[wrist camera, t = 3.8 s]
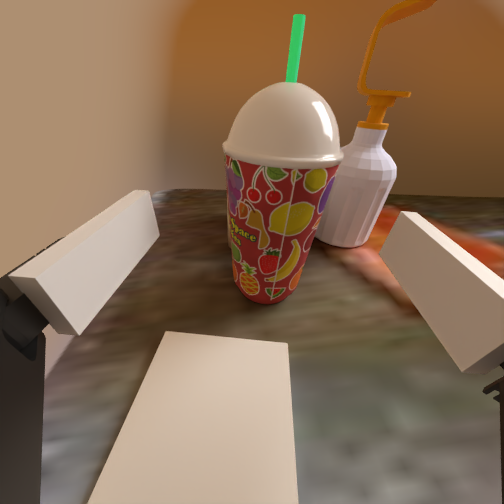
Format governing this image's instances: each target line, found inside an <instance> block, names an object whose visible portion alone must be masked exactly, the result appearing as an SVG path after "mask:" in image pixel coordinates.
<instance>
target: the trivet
mask: <svg viewBox="0 0 504 504" xmlns="http://www.w3.org/2000/svg"><path fill="white" fill-rule="evenodd" d="M87 504H298V491H297V476H296V461H295V446H294V431H293V416H292V401H291V386H290V372H289V357H288V343H279V342H269V341H259V340H249V339H240V338H230V337H220V336H210V335H200V334H190V333H180V332H171V331H166V332H165V334H164V336H163V338H162V341H161V343H160V345H159V347H158V349H157V352H156V354H155V356H154V358H153V360H152V363H151V365H150V367H149V369H148V371H147V374H146V376H145V378H144V380H143V382H142V385H141V387H140V389H139V391H138V393H137V396H136V398H135V400H134V402H133V404H132V407H131V409H130V411H129V413H128V415H127V418H126V420H125V422H124V424H123V426H122V429H121V431H120V433H119V435H118V437H117V440H116V442H115V444H114V446H113V448H112V451H111V453H110V455H109V457H108V459H107V462H106V464H105V466H104V468H103V470H102V473H101V475H100V477H99V479H98V481H97V484H96V486H95V488H94V490H93V492H92V495H91V497H90V499H89V501H88V503H87Z"/></svg>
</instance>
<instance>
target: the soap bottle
mask: <svg viewBox="0 0 504 504" xmlns="http://www.w3.org/2000/svg"><path fill="white" fill-rule="evenodd" d="M436 1H437V0H406V1H403V2H401V3H399V4H396V5H394V6H393V7H392V8H390V9H389V10H387V11H386V12H385V13H384V14H383V15H382V17H381V18H380V20H379V21H378V23H377V25H376V27H375V29H374V30H373V33H372V35H371V37H370V40H369V43H368V47H367V51H366V54H365V58H364V62H363V65H362V69H361V73H360V76H359V79H358V85H357V90H358V91H359V93H360V94H362V95H367V96H368V95H369V98H368V101H367V104H366V105H371V108H370V111H369V114H368V118H367V120H366V122H364V121H359V122H358V125H357V128H356V131H355V134H354V138H353V141H352V142H351V143H350V144H348V145H347V146H345V147H342V148H340V150H341V151H342V152H343V153H344V157H343V159H342V162H341V164H339V167H338V170H337V174H336V177H335V180H334V182H333V185H332V188H331V191H330V194H329V196H328V199H327V202H326V205H325V208H324V211H323V213H322V216H321V219H320V222H319V225H318V227H317V230H316V233H315V236H314V237H316V238H317V239H319V240H320V241H323V242H325V243H328V244H330V245H334V246H339V247H357V246H361V245H362V244H363V243H365V242H366V241H367V239H368V237H369V235H370V233H371V231H372V229H373V226H374V224H375V222H376V220H377V218H378V216H379V213H380V211H381V209H382V207H383V205H384V203H385V200H386V198H387V196H388V194H389V192H390V190H391V187H392V185H393V183H394V181H395V179H396V169H397V168H396V165H395V163H394V161H393V160H392V158H391V157H390V156H389V155H388V154H387V153H386V152H385V151H384V149H383V148H382V142H383V139H384V137H385V134H386V131H387V128H388V124H384V123H382V120H383V117H384V115H385V112H386V108H387V107H393V105H394V102H395V99H396V97H410V95H411V92H405V91H387V90H372V89H367V86H366V84H365V82H366V74H367V70H368V67H369V64H370V60H371V56H372V54H373V50H374V47H375V43H376V40H377V36H378V33H379V31H380V29H381V28H383V27H384V26H385V25H387V24H390V23H392V22H395V21H398V20H400V19H403V18H405V17H408V16H410V15H413V14H416V13H418V12H421V11H423V10H425V9H427V8H429V7H430V6H432V5H433V3H435V2H436Z"/></svg>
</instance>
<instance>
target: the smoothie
mask: <svg viewBox="0 0 504 504" xmlns="http://www.w3.org/2000/svg"><path fill="white" fill-rule="evenodd" d="M304 24H305V15H303V14H296V15H294V17H293V25H292V33H291V41H290V50H289V58H288V66H287V74H286V82H280V83H276V84H273V85H271V86H269V87H266V88H264V89H262V90H261V91H259V92H257V93H256V94H255V95H254V96H252V97H251V98H250V99H249V100H248V101H247V102H246V103H245V105H244V106H243V107H242V108H241V110H240V111H239V113H238V115H237V117H236V118H235V120H234V123H233V125H232V128H231V131H230V134H229V137H228V140H227V141H225V142H224V143H223V150H224V152H225V171H226V184H227V198H228V211H229V224H230V237H231V250H232V263H233V277H234V280H235V283H236V285H237V286H238V287H239V288H240V291H241V292H242V293H243V294H244V296H245V297H247V298H248V299H250V300H251V301H254V302H257V303H260V304H273V303H278V302H280V301H282V300H284V299H285V298H286V297H287V296H288V295H290V294H291V293H292V292H293V291H294V290H295V289H296V287H297V284H298V281H299V278H300V275H301V273H302V270H303V267H304V264H305V261H306V259H307V256H308V253H309V250H310V247H311V244H312V242H313V239H314V236H315V233H316V230H317V227H318V225H319V222H320V219H321V216H322V213H323V211H324V208H325V205H326V202H327V199H328V196H329V194H330V191H331V188H332V185H333V182H334V180H335V177H336V174H337V170H338V167H339V164H341V162H342V159H343V157H344V153H343V152H342V151H341V150H340V138H339V130H338V126H337V122H336V119H335V116H334V114H333V112H332V110H331V108H330V106H329V105H328V103H327V102H326V101H325V100H324V99H323V97H321V96H320V95H319V94H318V93H317V92H315V91H314V90H312V89H311V88H309V87H307V86H306V85H304V84H301V83H296V81H297V74H298V67H299V60H300V52H301V46H302V39H303V31H304Z"/></svg>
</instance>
